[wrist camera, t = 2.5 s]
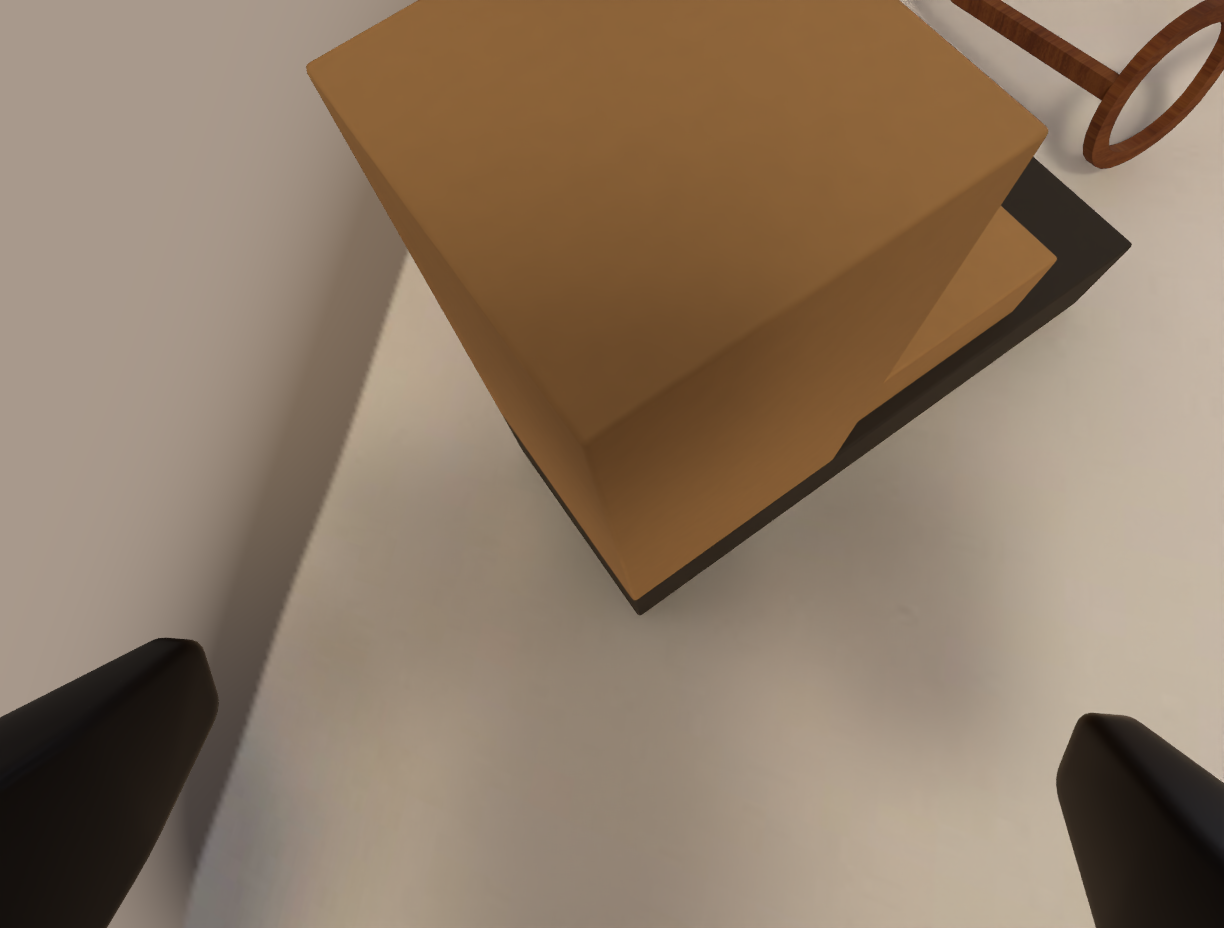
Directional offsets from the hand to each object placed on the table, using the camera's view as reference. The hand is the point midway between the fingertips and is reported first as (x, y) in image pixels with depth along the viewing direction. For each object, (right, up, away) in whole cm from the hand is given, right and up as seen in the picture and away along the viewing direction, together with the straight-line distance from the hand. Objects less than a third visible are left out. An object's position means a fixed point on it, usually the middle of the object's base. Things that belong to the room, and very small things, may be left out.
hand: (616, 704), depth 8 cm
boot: (+6, +5, +15) cm, 16 cm away
